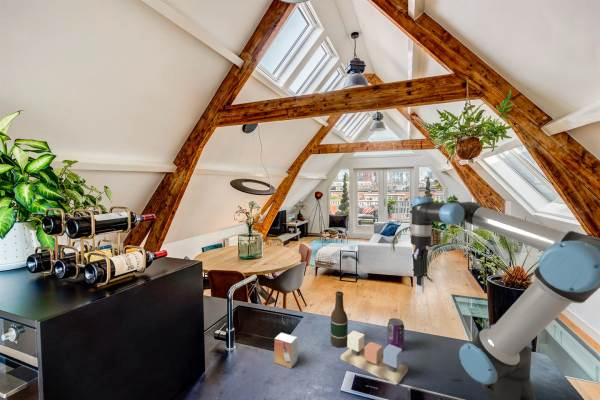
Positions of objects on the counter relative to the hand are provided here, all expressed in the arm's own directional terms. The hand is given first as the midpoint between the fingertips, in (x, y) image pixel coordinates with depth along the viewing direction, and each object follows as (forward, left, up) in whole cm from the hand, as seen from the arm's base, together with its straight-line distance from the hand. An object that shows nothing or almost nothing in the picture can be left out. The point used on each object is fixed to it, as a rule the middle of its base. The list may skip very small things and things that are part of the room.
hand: (419, 291), depth 116 cm
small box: (+41, +36, -30) cm, 62 cm away
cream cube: (+21, +14, -25) cm, 36 cm away
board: (+13, +14, -29) cm, 35 cm away
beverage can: (+11, -4, -30) cm, 32 cm away
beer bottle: (+32, +10, -30) cm, 45 cm away
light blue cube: (+5, +14, -25) cm, 29 cm away
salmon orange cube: (+13, +14, -27) cm, 33 cm away
